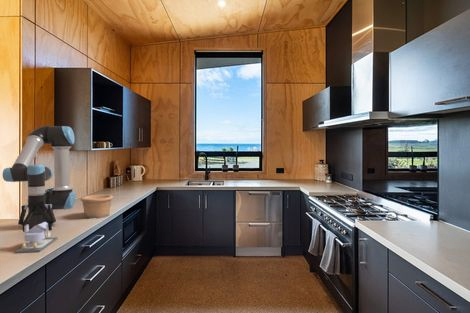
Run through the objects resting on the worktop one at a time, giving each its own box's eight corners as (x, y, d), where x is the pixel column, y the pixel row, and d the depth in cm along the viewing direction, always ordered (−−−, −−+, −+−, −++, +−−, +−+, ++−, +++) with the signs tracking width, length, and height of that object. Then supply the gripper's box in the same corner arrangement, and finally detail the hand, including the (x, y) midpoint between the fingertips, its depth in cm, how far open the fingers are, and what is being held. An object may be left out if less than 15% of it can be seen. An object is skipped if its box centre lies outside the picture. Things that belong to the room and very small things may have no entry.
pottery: (75, 219, 216) (75, 199, 215) (89, 212, 238) (88, 194, 237) (106, 219, 216) (106, 199, 216) (117, 212, 238) (117, 194, 238)
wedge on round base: (37, 234, 166) (20, 241, 153) (37, 221, 166) (19, 228, 153) (53, 234, 166) (38, 241, 153) (53, 221, 165) (37, 228, 152)
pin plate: (36, 240, 169) (35, 232, 169) (57, 239, 171) (57, 232, 170) (15, 253, 148) (15, 245, 148) (39, 251, 150) (39, 243, 150)
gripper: (8, 196, 153) (9, 240, 154) (56, 194, 156) (57, 238, 157) (16, 193, 160) (18, 236, 161) (62, 192, 164) (63, 234, 165)
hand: (37, 237), depth 159 cm, fingers closed on wedge on round base, 10 cm apart
